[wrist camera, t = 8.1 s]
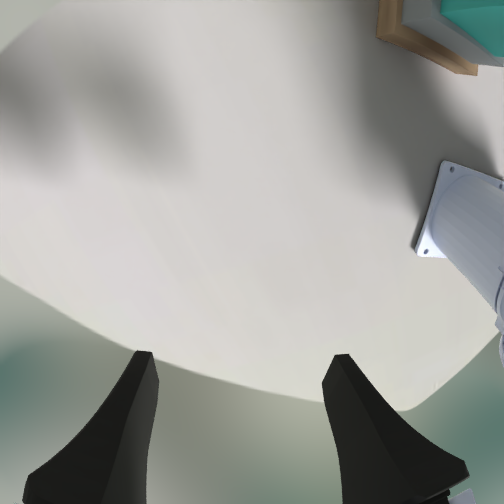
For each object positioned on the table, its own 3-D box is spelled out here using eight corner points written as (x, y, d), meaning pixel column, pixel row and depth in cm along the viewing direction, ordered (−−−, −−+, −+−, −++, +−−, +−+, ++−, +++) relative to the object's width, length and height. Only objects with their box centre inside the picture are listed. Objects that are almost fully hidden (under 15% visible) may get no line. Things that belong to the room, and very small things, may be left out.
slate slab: (474, -4, 8) (503, -8, 6) (472, 63, 11) (503, 67, 9) (404, -48, 8) (430, -61, 5) (400, 24, 11) (430, 16, 8)
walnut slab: (454, 0, 11) (479, -4, 8) (450, 73, 14) (477, 75, 12) (377, -40, 10) (397, -53, 7) (371, 38, 14) (394, 32, 11)
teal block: (498, 1, 6) (557, 1, 2) (494, 56, 9) (561, 67, 4) (444, -43, 6) (504, -60, 1) (439, 13, 8) (512, 5, 4)
